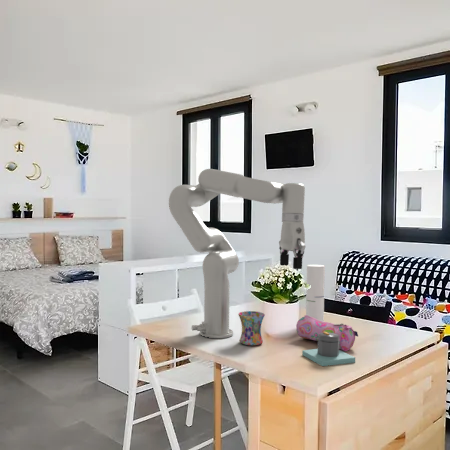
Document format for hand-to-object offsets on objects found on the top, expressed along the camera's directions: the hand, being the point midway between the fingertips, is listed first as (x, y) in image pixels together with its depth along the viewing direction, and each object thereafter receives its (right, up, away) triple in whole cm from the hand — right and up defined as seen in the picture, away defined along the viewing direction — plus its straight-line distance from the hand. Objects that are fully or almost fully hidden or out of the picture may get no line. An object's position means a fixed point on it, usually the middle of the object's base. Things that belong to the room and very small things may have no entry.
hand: (290, 267), depth 169 cm
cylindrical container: (+14, -27, +28) cm, 42 cm away
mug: (-14, -28, +3) cm, 31 cm away
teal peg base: (+10, -28, -15) cm, 33 cm away
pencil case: (+13, -28, +2) cm, 31 cm away
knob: (+10, -27, -15) cm, 32 cm away
